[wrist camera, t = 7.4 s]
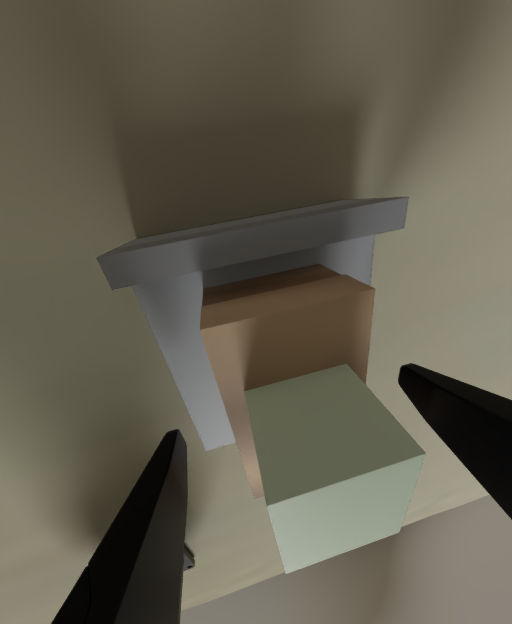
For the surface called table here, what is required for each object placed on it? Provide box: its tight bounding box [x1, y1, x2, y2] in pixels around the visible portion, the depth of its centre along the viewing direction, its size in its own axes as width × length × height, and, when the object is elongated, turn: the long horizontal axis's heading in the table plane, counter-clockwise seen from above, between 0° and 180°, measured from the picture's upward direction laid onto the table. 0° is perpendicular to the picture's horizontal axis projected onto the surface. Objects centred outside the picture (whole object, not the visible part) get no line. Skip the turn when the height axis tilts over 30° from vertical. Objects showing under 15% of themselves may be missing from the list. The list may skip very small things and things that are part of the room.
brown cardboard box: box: [200, 264, 375, 499], centre depth 10 cm, size 9×5×4 cm, turn 9°
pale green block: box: [244, 364, 426, 574], centre depth 7 cm, size 4×4×3 cm
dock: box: [97, 197, 409, 451], centre depth 11 cm, size 12×10×4 cm
